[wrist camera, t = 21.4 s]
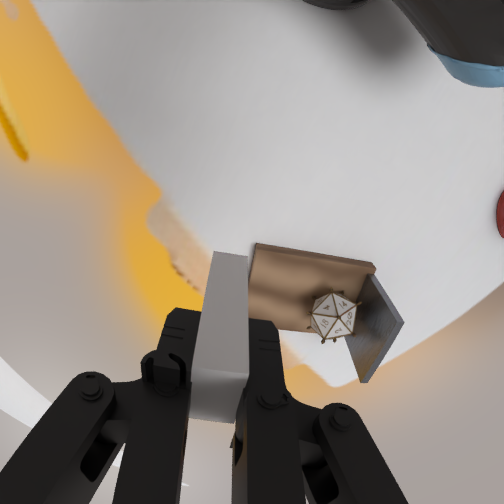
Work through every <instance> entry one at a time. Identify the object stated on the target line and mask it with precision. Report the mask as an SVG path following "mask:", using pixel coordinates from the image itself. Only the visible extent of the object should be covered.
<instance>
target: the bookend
mask: <svg viewBox="0 0 504 504" xmlns="http://www.w3.org/2000/svg"><path fill="white" fill-rule="evenodd" d="M357 302H362V303H361V305H358V306H357V311H356V318H357V320H356V321H355V324H354V330H353V333H355V334H356V337H353V336H352V334H351V335H347V336H344V337H345V340H346V343H347V346H348V348H349V351H350V354H351V357H352V360H353V363H354V365H355V368H356V371H357V374H358V377H359V380H360V383H368V381H369V380H370V378H371V377H372V375H373V374H374V372H375V371H376V369H377V368H378V366H379V364H380V363H381V361H382V360H383V358H384V357H385V355H386V353H387V352H388V350H389V348H390V347H391V345H392V343H393V342H394V340H395V338H396V337H397V335H398V333H399V331H400V330H401V328H402V326H403V324H404V321H403V319H402V317H401V316H400V314H399V313H398V311H397V309H396V308H395V306H394V305H393V303H392V301H391V300H390V298H389V297H388V295H387V293H386V292H385V290H384V289H383V287H382V286H381V284H380V283H379V281H378V280H377V278H376V277H375V275H374V274H369V273H368V274H367V276H366V278H365V281H364V283H363V286H362V288H361V290H360V293H359V295H358V297H357V300H356V302H355V303H356V304H357Z"/></svg>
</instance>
